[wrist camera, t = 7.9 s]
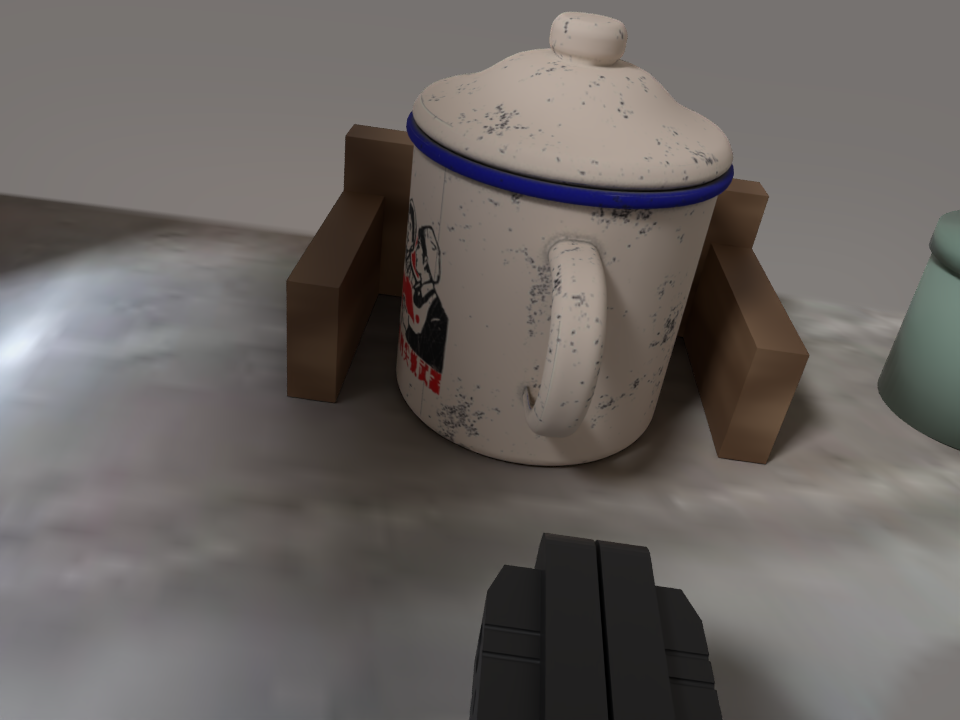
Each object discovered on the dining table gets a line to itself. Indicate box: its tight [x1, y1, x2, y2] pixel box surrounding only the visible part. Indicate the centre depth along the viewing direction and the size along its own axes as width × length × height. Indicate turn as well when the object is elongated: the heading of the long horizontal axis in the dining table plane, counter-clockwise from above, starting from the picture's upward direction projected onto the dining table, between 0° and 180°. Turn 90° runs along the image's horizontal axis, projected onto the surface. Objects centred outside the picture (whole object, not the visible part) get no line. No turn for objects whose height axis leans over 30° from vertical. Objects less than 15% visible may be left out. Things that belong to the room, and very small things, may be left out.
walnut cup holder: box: [286, 124, 809, 464], centre depth 27 cm, size 15×9×6 cm, turn 86°
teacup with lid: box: [396, 12, 734, 466], centre depth 22 cm, size 12×9×12 cm
